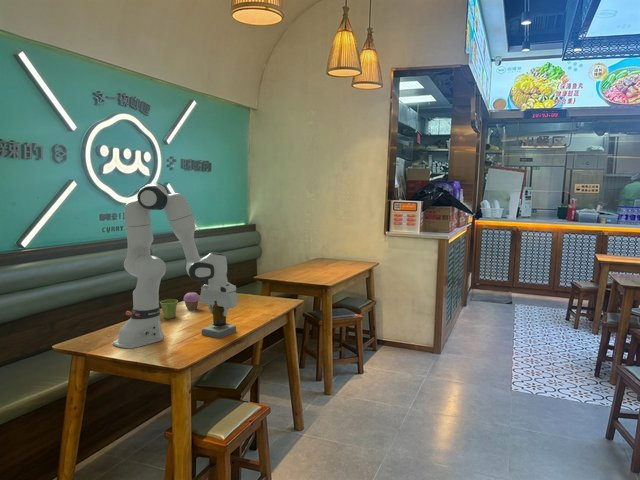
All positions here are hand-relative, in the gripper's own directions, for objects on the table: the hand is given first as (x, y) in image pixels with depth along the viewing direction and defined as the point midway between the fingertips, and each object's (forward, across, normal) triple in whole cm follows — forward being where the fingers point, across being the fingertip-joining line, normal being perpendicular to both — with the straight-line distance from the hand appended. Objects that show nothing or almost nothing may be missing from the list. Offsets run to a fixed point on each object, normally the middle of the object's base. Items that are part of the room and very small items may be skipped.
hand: (218, 314), depth 222 cm
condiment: (+5, +1, 0) cm, 5 cm away
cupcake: (+9, -43, +27) cm, 52 cm away
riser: (+9, 0, 0) cm, 9 cm away
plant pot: (+9, -42, +9) cm, 44 cm away
